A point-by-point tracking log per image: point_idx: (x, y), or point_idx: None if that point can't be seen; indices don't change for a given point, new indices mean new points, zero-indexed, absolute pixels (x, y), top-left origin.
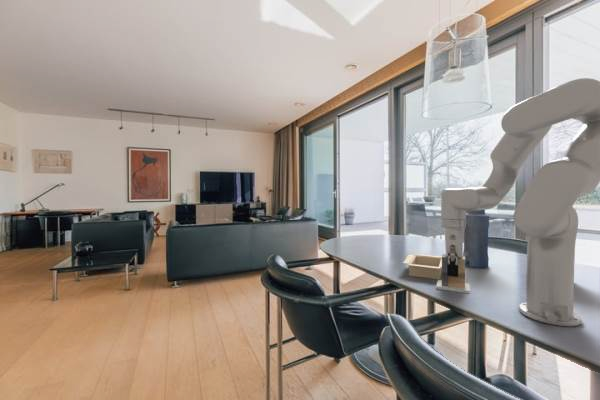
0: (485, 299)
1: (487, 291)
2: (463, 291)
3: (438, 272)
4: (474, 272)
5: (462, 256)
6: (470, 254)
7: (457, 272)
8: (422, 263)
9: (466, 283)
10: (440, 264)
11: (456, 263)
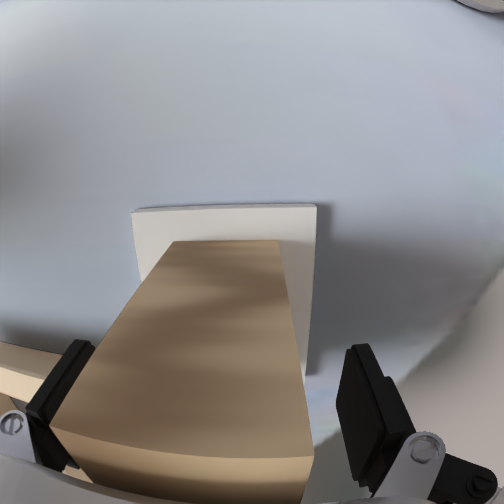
0: (387, 116)
1: (200, 89)
2: (312, 245)
3: None
4: None
5: (81, 454)
6: None
7: (379, 372)
8: (6, 410)
9: (137, 231)
10: (28, 399)
11: (440, 452)
